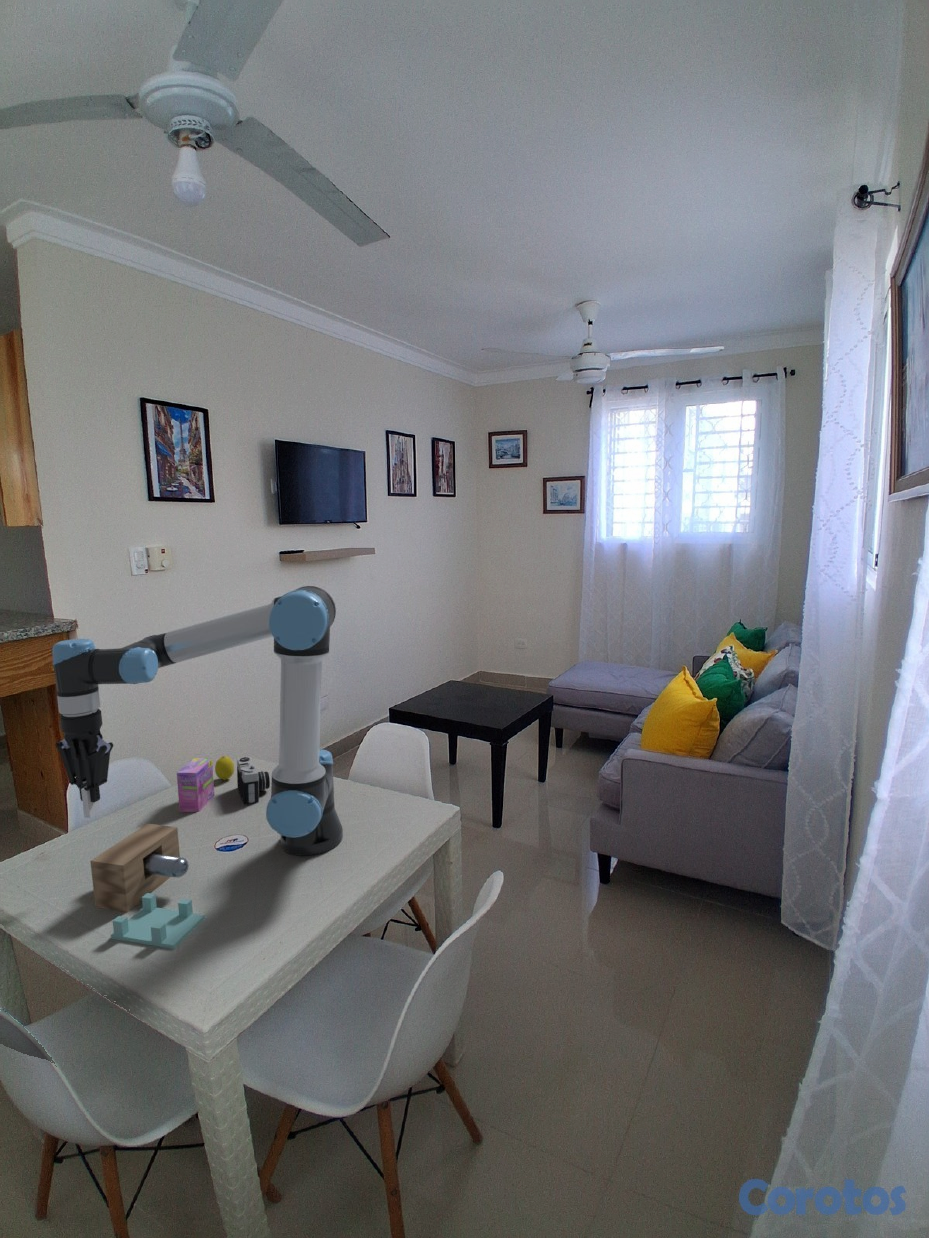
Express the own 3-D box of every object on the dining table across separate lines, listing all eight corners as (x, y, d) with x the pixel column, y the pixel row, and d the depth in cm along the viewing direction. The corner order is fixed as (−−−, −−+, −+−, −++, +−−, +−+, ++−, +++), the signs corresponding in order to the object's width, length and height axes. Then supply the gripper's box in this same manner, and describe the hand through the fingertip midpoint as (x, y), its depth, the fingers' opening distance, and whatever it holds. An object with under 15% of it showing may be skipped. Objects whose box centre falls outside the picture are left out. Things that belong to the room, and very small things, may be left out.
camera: (271, 802, 172) (269, 769, 170) (237, 807, 168) (235, 774, 167) (269, 783, 184) (267, 752, 183) (237, 788, 181) (235, 756, 180)
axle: (193, 872, 130) (192, 855, 129) (180, 882, 126) (179, 864, 126) (115, 861, 134) (114, 844, 134) (101, 870, 130) (100, 853, 130)
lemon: (223, 785, 183) (221, 760, 182) (212, 781, 186) (210, 757, 185) (238, 779, 188) (237, 754, 186) (227, 775, 190) (225, 751, 189)
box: (199, 812, 166) (196, 772, 164) (179, 812, 166) (175, 772, 164) (215, 795, 176) (212, 757, 174) (196, 795, 176) (193, 757, 174)
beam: (180, 869, 138) (177, 827, 136) (127, 912, 123) (123, 865, 121) (151, 865, 140) (147, 823, 138) (95, 907, 124) (90, 860, 123)
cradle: (205, 919, 120) (203, 901, 120) (174, 950, 112) (172, 930, 111) (145, 910, 123) (144, 892, 123) (111, 939, 115) (109, 920, 114)
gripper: (119, 708, 130) (130, 809, 133) (70, 704, 133) (82, 804, 136) (91, 718, 122) (103, 825, 126) (39, 715, 125) (52, 819, 129)
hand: (92, 814), depth 131 cm, fingers closed
